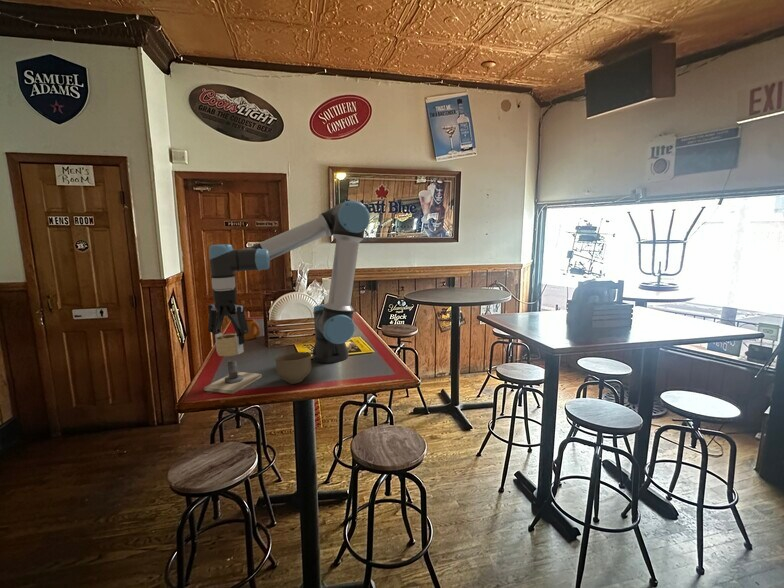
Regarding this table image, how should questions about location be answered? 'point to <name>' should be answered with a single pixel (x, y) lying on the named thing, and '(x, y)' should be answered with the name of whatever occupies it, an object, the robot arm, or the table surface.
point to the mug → (252, 329)
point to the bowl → (293, 366)
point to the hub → (232, 380)
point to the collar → (226, 344)
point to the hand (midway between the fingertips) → (230, 352)
